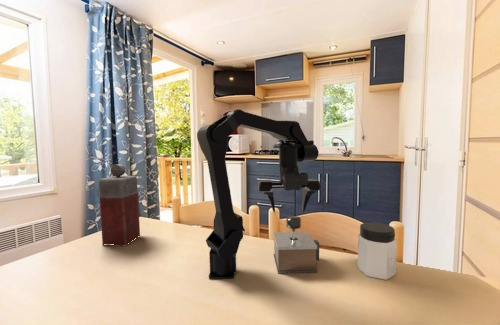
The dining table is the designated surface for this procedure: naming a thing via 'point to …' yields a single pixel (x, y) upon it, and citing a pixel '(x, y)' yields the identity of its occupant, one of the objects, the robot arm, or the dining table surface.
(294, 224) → the plunger
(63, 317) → the dining table surface
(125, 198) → the red canister
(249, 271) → the dining table surface
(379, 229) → the jar
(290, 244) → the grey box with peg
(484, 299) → the dining table surface
